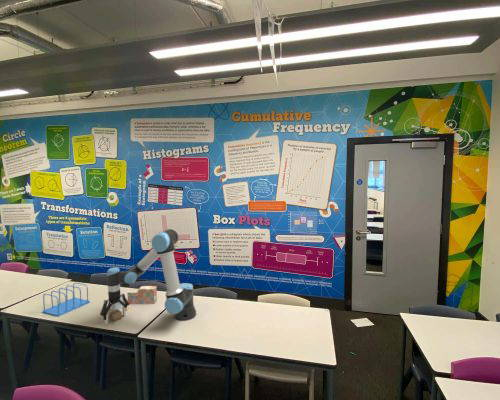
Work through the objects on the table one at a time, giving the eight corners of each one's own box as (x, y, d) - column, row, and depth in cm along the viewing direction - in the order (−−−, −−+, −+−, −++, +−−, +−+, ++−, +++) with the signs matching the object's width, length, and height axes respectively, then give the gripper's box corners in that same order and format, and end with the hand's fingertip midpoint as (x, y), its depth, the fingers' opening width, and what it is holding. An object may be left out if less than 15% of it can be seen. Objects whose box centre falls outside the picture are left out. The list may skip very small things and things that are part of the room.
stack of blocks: (127, 304, 213) (127, 289, 212) (131, 300, 219) (130, 285, 218) (154, 304, 213) (153, 289, 212) (157, 300, 219) (156, 285, 218)
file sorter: (58, 317, 192) (56, 297, 191) (42, 313, 198) (40, 293, 197) (89, 302, 216) (88, 284, 215) (74, 299, 222) (73, 281, 221)
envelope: (134, 309, 203) (134, 309, 203) (113, 318, 190) (113, 318, 190) (122, 304, 213) (122, 303, 213) (102, 312, 200) (102, 312, 199)
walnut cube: (122, 319, 189) (121, 311, 189) (113, 323, 184) (113, 315, 184) (117, 317, 193) (117, 309, 192) (109, 320, 188) (108, 312, 187)
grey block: (123, 308, 205) (122, 298, 204) (115, 311, 200) (115, 301, 199) (119, 306, 208) (118, 296, 208) (111, 309, 203) (110, 299, 203)
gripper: (127, 283, 199) (128, 311, 201) (93, 295, 179) (94, 326, 181) (133, 285, 195) (134, 314, 196) (98, 297, 175) (100, 329, 177)
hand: (115, 319), depth 189 cm, fingers open, 12 cm apart
